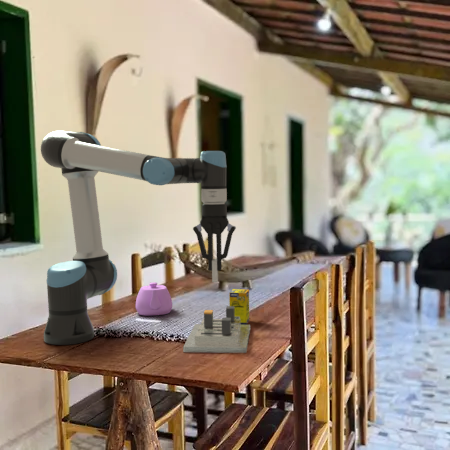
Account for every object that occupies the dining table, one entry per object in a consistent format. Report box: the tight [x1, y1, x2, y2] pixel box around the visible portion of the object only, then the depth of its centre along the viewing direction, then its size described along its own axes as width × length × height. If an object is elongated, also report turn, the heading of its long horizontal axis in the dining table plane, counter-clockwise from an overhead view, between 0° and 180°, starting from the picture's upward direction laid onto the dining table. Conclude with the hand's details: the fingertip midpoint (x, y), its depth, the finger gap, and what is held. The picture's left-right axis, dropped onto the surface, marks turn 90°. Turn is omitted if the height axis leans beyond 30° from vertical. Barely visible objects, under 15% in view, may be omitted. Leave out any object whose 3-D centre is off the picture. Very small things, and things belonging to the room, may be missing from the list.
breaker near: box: [221, 317, 231, 334], centre depth 167 cm, size 2×3×4 cm
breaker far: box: [225, 305, 235, 321], centre depth 180 cm, size 2×3×4 cm
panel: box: [182, 318, 251, 354], centre depth 174 cm, size 18×24×4 cm
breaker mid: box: [203, 309, 214, 327], centre depth 174 cm, size 2×3×4 cm
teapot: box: [135, 282, 173, 316], centre depth 208 cm, size 13×20×11 cm
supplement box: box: [228, 288, 250, 325], centre depth 193 cm, size 6×6×11 cm
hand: (215, 281), depth 173 cm, fingers closed
